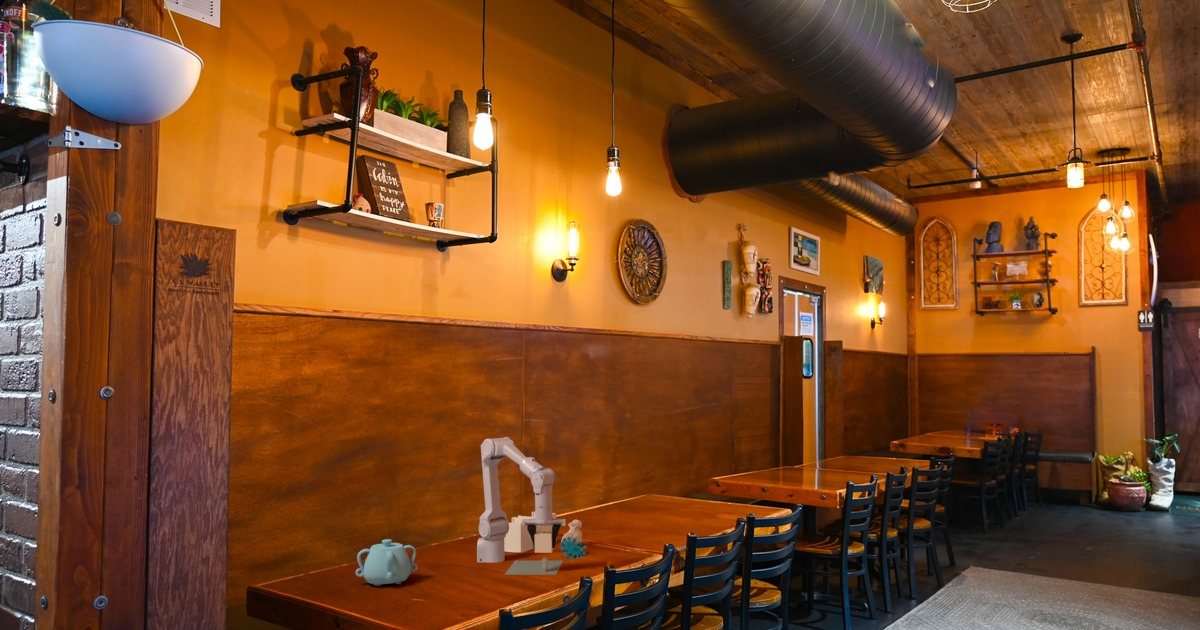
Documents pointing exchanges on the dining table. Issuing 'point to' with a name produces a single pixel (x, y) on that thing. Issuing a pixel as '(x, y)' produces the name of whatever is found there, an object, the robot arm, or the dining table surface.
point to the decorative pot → (386, 563)
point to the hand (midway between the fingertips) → (544, 547)
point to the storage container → (522, 534)
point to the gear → (572, 548)
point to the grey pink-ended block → (544, 564)
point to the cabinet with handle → (543, 542)
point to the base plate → (533, 568)
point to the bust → (574, 531)
